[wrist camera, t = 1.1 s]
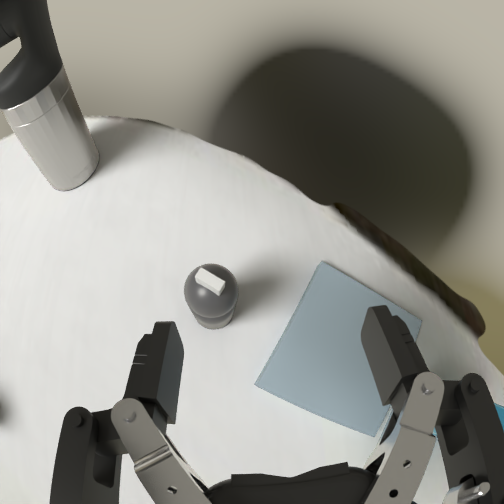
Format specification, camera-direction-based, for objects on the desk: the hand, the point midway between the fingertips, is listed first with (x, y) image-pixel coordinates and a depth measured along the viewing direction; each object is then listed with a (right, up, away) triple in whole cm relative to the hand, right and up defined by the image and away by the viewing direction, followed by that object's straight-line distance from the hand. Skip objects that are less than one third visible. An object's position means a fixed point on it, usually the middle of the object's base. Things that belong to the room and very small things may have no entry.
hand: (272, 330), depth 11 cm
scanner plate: (+10, -9, +20) cm, 24 cm away
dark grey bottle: (-5, -3, +20) cm, 21 cm away
